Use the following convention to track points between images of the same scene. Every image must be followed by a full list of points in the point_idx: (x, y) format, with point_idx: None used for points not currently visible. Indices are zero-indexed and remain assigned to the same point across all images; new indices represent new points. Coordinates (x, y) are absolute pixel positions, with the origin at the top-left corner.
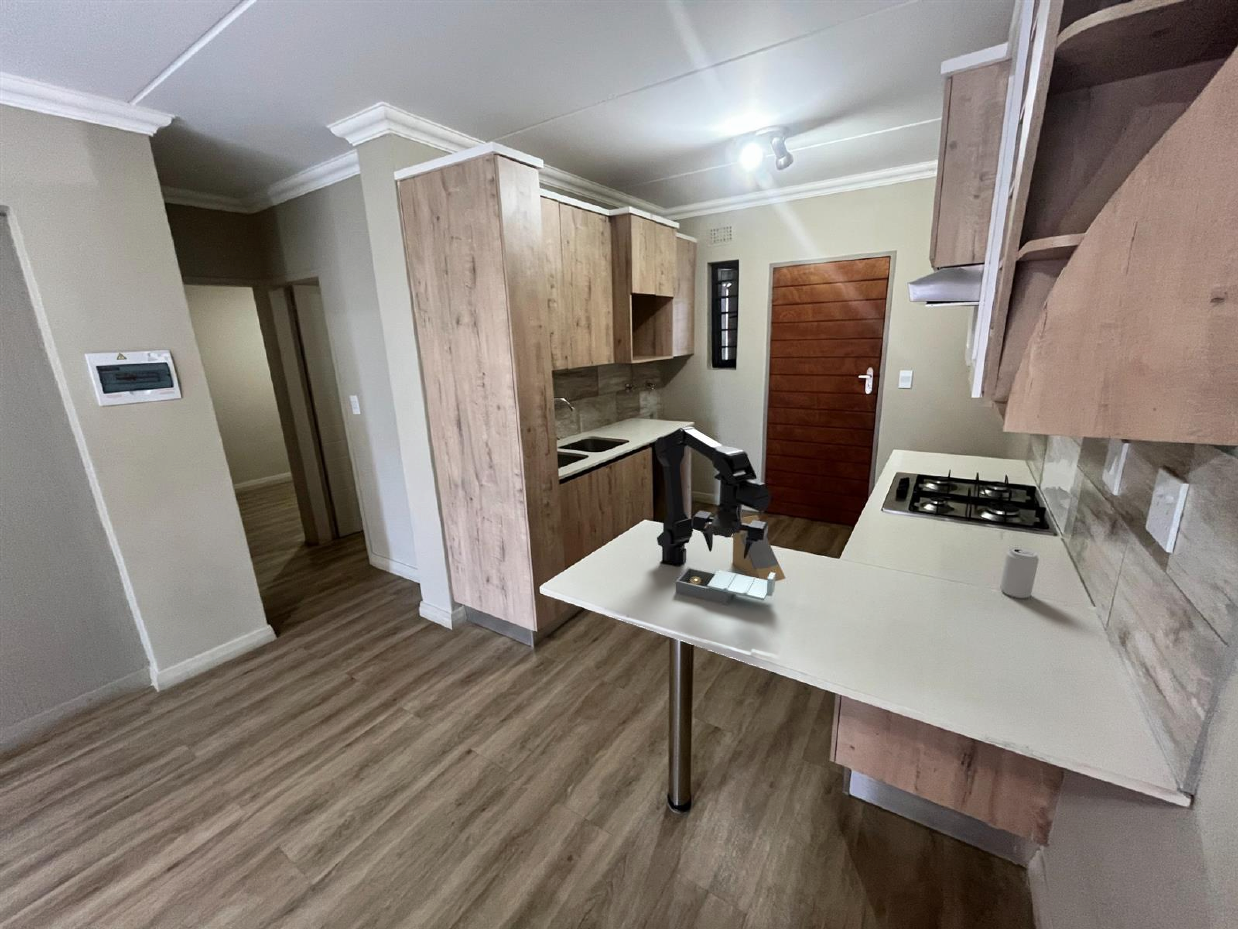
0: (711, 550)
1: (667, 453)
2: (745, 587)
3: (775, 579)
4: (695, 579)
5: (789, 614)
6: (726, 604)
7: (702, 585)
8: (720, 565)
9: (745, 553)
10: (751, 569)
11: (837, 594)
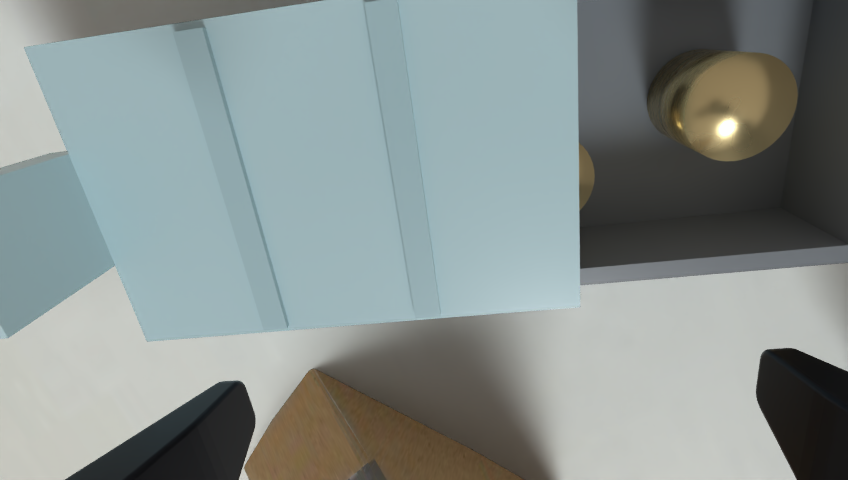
0: (759, 385)
1: None
2: (246, 142)
3: (277, 448)
4: (737, 105)
5: None
6: None
7: (655, 180)
8: (625, 469)
9: (152, 438)
10: (407, 466)
11: (8, 458)
